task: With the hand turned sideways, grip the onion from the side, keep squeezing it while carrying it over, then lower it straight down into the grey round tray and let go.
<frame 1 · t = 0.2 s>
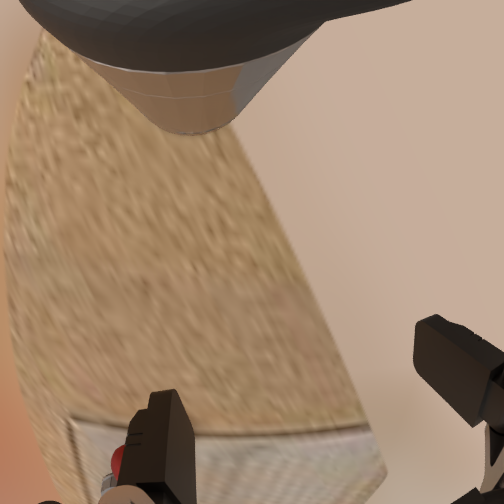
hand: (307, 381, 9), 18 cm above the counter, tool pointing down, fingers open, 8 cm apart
grey round tray: (136, 490, 33), on the counter
onion: (139, 442, 31), on the counter
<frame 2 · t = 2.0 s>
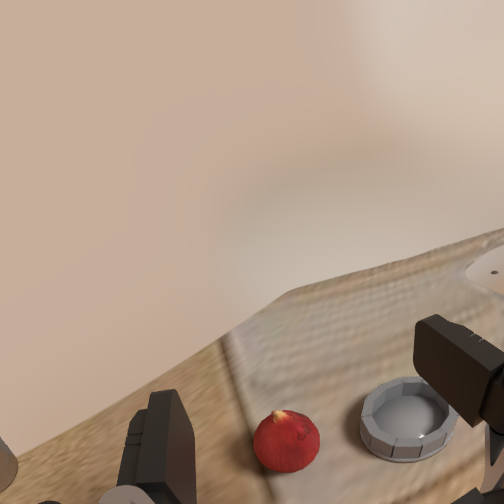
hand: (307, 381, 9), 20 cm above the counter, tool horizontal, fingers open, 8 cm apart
grey round tray: (408, 424, 26), on the counter
onion: (291, 465, 25), on the counter
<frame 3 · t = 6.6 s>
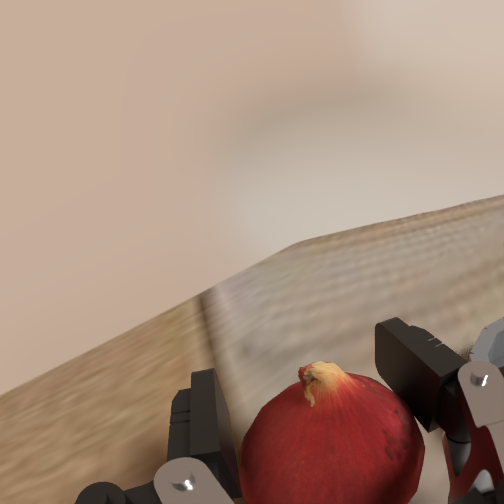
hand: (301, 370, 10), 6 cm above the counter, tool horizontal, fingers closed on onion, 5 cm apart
when the fingers open (7 cm above the counter, at t = 12.2 s): onion stays where it is, resting on grey round tray.
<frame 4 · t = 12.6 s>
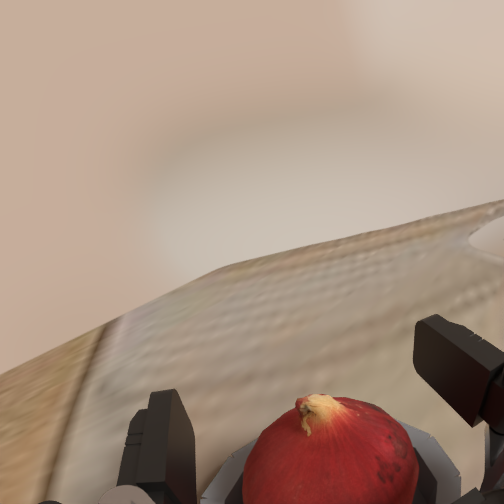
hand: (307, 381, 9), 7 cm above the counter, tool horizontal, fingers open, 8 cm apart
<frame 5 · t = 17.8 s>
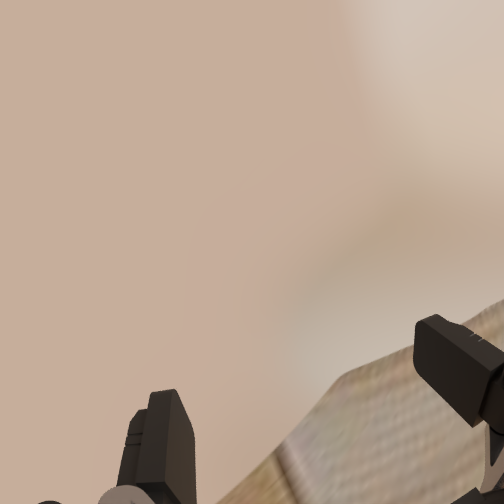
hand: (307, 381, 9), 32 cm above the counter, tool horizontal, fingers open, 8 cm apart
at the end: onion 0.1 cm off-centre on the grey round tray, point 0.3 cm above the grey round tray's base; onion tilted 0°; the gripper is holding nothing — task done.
